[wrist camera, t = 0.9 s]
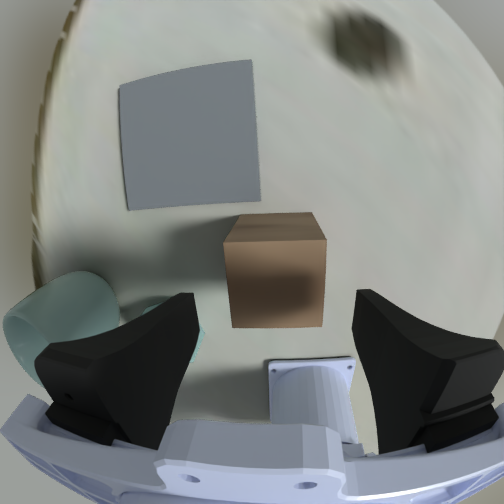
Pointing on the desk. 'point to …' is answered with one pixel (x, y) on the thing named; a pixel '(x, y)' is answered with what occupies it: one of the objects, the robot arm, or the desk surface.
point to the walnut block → (276, 271)
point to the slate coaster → (191, 137)
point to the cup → (60, 315)
